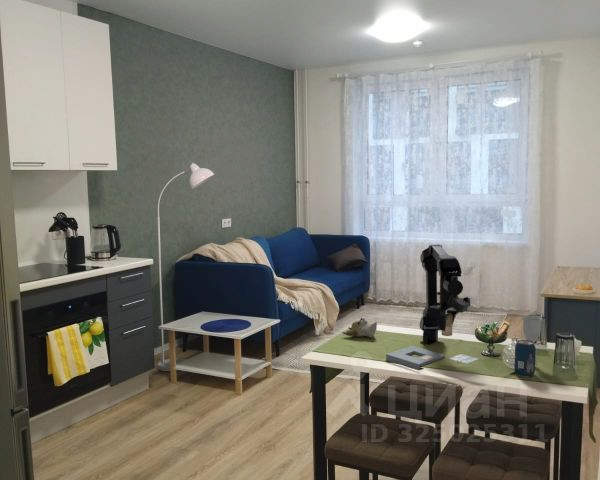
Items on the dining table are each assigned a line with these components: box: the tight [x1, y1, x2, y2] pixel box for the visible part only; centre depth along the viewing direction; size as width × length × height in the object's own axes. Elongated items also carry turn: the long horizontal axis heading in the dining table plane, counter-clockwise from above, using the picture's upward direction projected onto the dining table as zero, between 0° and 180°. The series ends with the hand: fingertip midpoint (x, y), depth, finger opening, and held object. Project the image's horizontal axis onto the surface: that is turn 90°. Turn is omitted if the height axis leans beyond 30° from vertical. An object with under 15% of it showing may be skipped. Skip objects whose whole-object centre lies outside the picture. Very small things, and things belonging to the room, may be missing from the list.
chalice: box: [521, 315, 543, 366], centre depth 215 cm, size 7×7×18 cm
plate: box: [449, 353, 479, 365], centre depth 219 cm, size 8×8×2 cm
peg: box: [441, 313, 453, 337], centre depth 218 cm, size 4×4×8 cm
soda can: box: [514, 339, 536, 378], centre depth 204 cm, size 7×7×12 cm
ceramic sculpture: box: [341, 317, 378, 339], centre depth 256 cm, size 11×9×15 cm
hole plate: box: [385, 345, 446, 372], centre depth 221 cm, size 16×16×3 cm
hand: (446, 329), depth 218 cm, fingers closed on peg, 4 cm apart
